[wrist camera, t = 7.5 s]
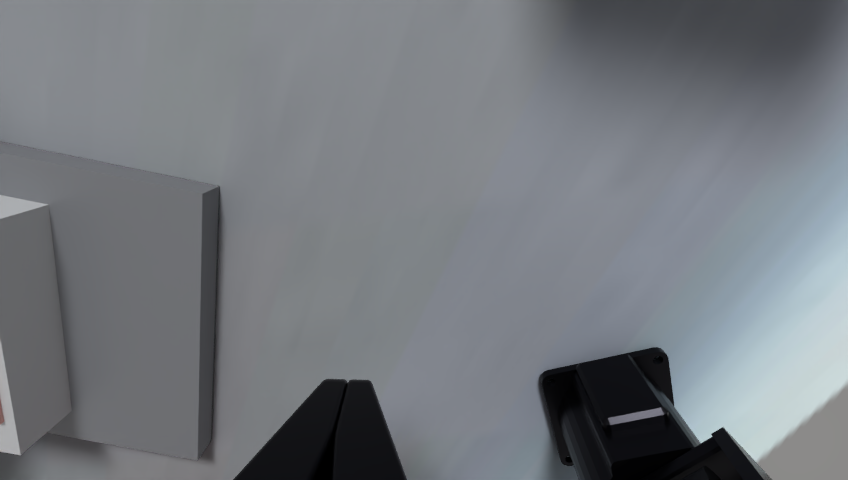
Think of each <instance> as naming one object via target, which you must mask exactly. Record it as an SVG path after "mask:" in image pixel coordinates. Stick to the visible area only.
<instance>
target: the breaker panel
mask: <svg viewBox="0 0 848 480" xmlns="http://www.w3.org/2000/svg"><path fill="white" fill-rule="evenodd" d="M218 211H219V186H216V185H211V184H206V183H201V182H196V181H191V180H186V179H181V178H177V177H172V176H167V175H162V174H157V173H152V172H147V171H142V170H137V169H132V168H128V167H123V166H118V165H113V164H108V163H103V162H98V161H93V160H88V159H83V158H79V157H74V156H69V155H64V154H59V153H54V152H49V151H44V150H39V149H34V148H30V147H25V146H20V145H15V144H10V143H5V142H0V452H5V453H11V454H16V455H22V454H23V453H24V452H25V451H26V450H27V449H28V448H30V447H31V446H32V445H33V444H34V443H35V442H37V441H38V440H39V439H40V438H41V437H42V436H43V435H45V434H46V433H50V434H55V435H60V436H66V437H71V438H77V439H82V440H87V441H93V442H98V443H104V444H109V445H115V446H120V447H125V448H131V449H136V450H142V451H147V452H152V453H158V454H163V455H169V456H174V457H180V458H185V459H190V460H196V461H198V459H199V458H200V456H201V455H202V453H203V452H204V450H205V449H206V447H207V446H208V444H209V443H210V441H211V428H212V397H213V366H214V335H215V304H216V273H217V242H218Z"/></svg>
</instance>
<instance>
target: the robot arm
mask: <svg viewBox="0 0 848 480" xmlns="http://www.w3.org/2000/svg"><path fill="white" fill-rule="evenodd" d="M656 356H659V357H658V358H657V359H655V360H653V359H654V358H655V357H656ZM549 379H554V380H553V381H551V382H548V380H549ZM540 380H541V384H542V388H543V392H544V396H545V400H546V404H547V408H548V412H549V417H550V421H551V425H552V429H553V433H554V437H555V441H556V445H557V449H558V453H559V456H560V460H561V462H562V463H563V464H564V465H566V466H572V465H574V467H575V470H576V473H577V476H578V479H579V480H772V479H771V478H770V477H769V476H768V475H767V474H766V473H765V471H763V469H762V468H761V467H760V466H759V465H758V464H757V463H756V462H755V461H754V460H753V459H752V458H751V456H750V455H749V454H748V453H747V452H746V451H745V450H744V449H743V448H742V447H741V446H740V445H739V444H738V443H737V441H736V440H735V439H734V438H733V437H732V436H731V435H730V434H729V433H728V432H727V431H726V430H725V429H724V428H723V427H722V428H721V429H719V430H717V431H716V432H714V433H712V434H711V435H712V436H713V437H711V438H709V439H708V440H706V441H704V442H703V443H700V442H699V440H698V439H697V438H696V436H695V435H694V433H693V432H692V431H691V429H690V428H689V427H688V425H687V424H686V422H685V421H684V420H683V418H682V417H681V415H680V414H679V413H678V411H677V410H676V409H675V407H674V400H673V392H672V384H671V376H670V368H669V361H668V356H667V355H666V353H665V352H664V351H663V350H662V349H661V348H658V347H656V348H649V349H645V350H640V351H635V352H631V353H626V354H621V355H617V356H612V357H607V358H603V359H598V360H593V361H589V362H584V363H579V364H575V365H570V366H565V367H561V368H556V369H552V370H547V371H545V372H543V373H542V374H541V376H540ZM567 456H570V457H567ZM234 480H407V479H406V476H405V473H404V471H403V468H402V465H401V462H400V459H399V457H398V454H397V451H396V448H395V446H394V443H393V440H392V437H391V434H390V432H389V429H388V426H387V423H386V421H385V418H384V415H383V412H382V410H381V407H380V404H379V401H378V398H377V396H376V393H375V390H374V387H373V385H372V383H371V381H369V380H350V381H349V382H348V383H347V381H346V380H344V379H326V380H324V381H323V382H322V383H321V384H320V385H319V386H318V387H317V388H316V389H315V390H314V391H313V393H312V394H311V395H310V396H309V397H308V398H307V399H306V400H305V401H304V402H303V404H302V405H301V406H300V407H299V408H298V409H297V410H296V411H295V412H294V413H293V415H292V416H291V417H290V418H289V419H288V420H287V421H286V422H285V423H284V424H283V426H282V427H281V428H280V429H279V430H278V431H277V432H276V433H275V434H274V435H273V437H272V438H271V439H270V440H269V441H268V442H267V443H266V444H265V445H264V447H263V448H262V449H261V450H260V451H259V452H258V453H257V454H256V455H255V456H254V458H253V459H252V460H251V461H250V462H249V463H248V464H247V465H246V466H245V467H244V469H243V470H242V471H241V472H240V473H239V474H238V475H237V476H236V477H235V478H234Z"/></svg>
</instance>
